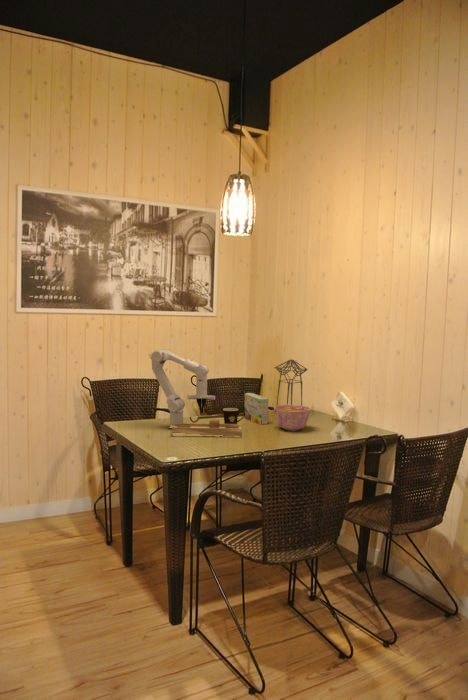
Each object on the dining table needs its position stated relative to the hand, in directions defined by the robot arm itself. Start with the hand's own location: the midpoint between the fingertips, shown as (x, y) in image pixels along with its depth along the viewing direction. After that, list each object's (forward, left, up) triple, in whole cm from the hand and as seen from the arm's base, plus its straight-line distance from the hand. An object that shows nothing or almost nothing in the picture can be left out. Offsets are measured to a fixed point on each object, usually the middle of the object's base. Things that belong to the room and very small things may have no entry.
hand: (201, 412), depth 298 cm
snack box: (-25, +30, -10) cm, 40 cm away
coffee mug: (-7, +17, -10) cm, 21 cm away
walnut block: (+10, +7, -6) cm, 14 cm away
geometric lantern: (-39, +51, -10) cm, 65 cm away
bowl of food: (-5, +49, -10) cm, 50 cm away
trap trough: (+10, +3, -9) cm, 14 cm away
